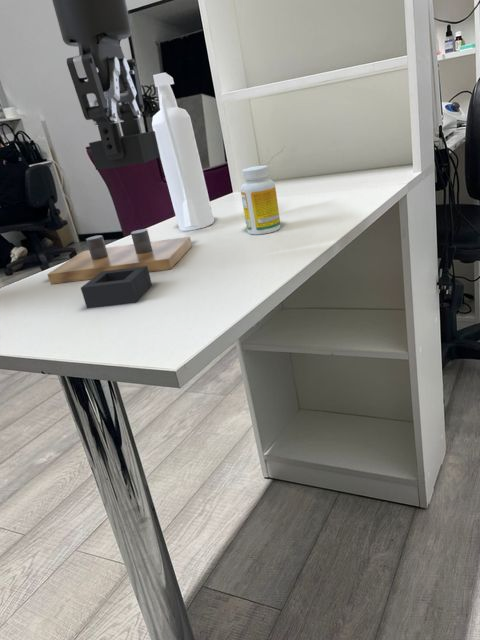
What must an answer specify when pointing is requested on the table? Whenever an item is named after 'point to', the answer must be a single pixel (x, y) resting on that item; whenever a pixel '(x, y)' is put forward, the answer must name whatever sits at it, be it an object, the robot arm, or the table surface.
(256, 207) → the supplement bottle
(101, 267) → the wooden board
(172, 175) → the white spray bottle
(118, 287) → the dark grey square ring
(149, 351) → the table surface
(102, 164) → the black square holder
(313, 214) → the table surface
